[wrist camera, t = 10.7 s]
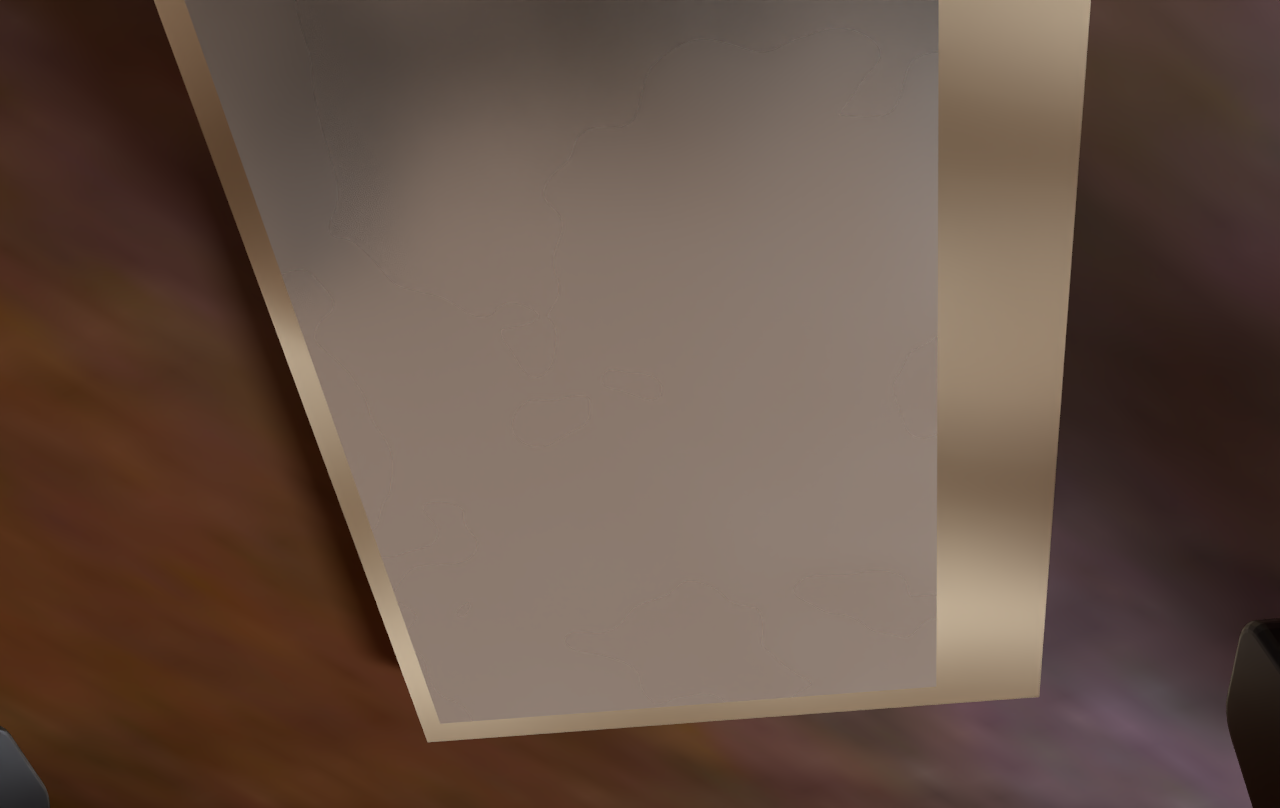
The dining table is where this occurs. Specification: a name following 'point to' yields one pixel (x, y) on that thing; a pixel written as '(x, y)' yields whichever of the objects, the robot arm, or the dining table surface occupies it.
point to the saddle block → (617, 329)
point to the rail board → (966, 358)
